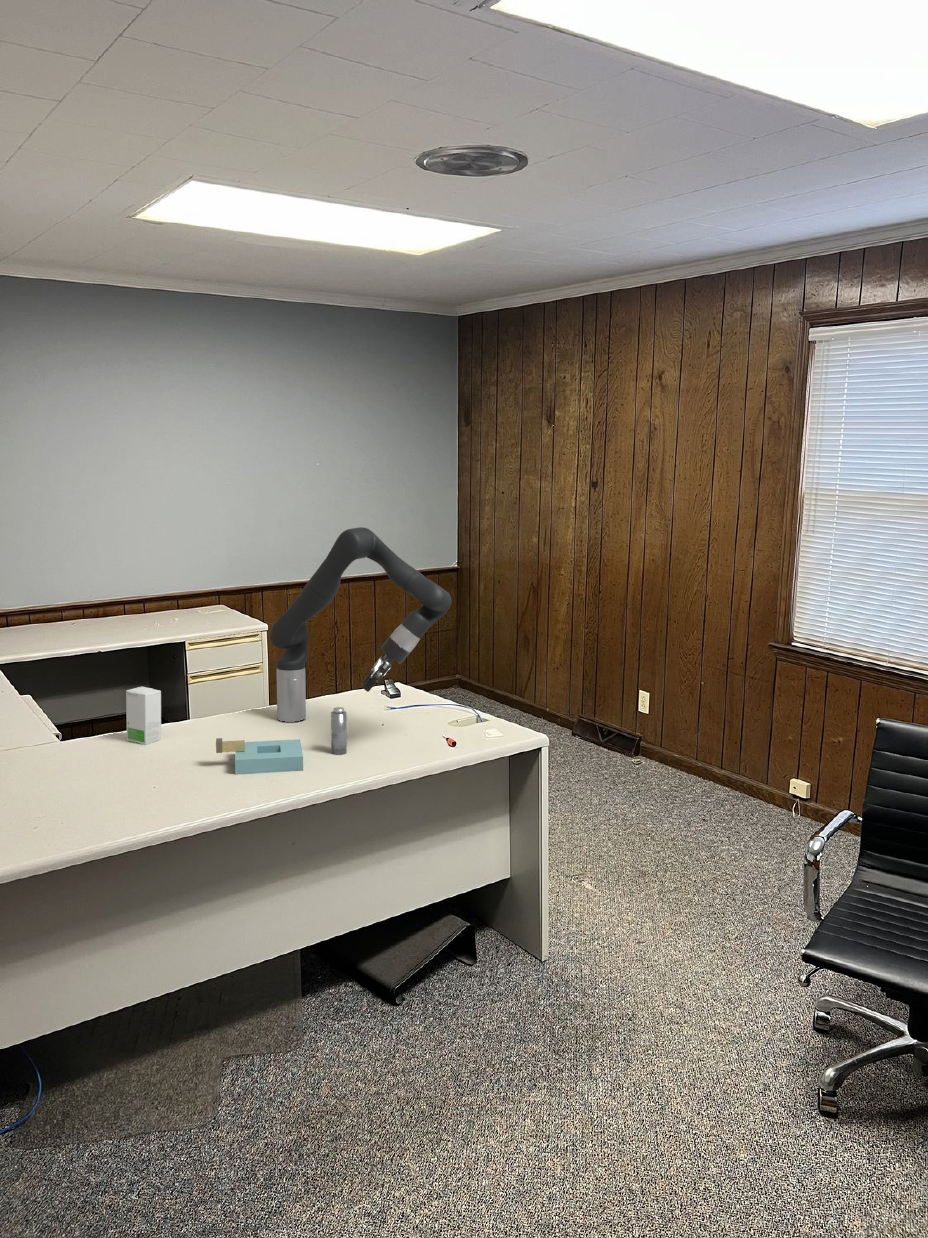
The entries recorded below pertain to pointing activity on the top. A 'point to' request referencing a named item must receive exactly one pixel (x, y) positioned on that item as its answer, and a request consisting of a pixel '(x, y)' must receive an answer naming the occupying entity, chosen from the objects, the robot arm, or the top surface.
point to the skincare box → (143, 715)
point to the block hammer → (229, 746)
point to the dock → (269, 757)
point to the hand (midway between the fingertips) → (365, 687)
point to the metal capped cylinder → (338, 731)
